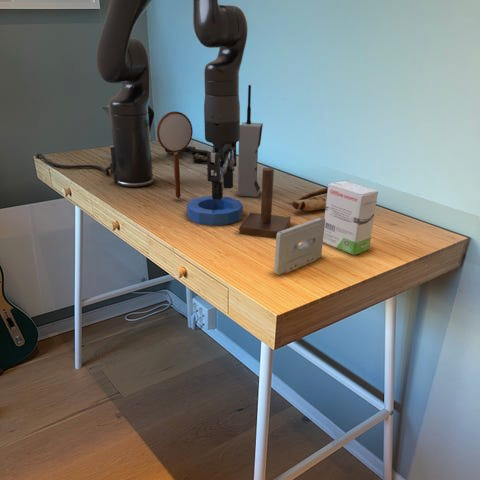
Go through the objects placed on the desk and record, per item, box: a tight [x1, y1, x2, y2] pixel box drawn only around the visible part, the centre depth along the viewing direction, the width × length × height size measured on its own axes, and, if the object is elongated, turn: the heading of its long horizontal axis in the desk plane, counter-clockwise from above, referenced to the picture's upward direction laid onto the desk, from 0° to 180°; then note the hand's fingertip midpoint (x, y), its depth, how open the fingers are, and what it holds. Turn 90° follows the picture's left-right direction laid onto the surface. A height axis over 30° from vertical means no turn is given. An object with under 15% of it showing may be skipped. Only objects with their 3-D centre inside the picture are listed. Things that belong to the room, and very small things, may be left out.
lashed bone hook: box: [292, 187, 328, 212], centre depth 116 cm, size 9×5×18 cm
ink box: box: [323, 180, 379, 256], centre depth 94 cm, size 9×5×12 cm, turn 39°
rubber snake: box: [164, 145, 210, 164], centre depth 152 cm, size 18×5×10 cm
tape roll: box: [186, 195, 244, 227], centre depth 110 cm, size 12×12×3 cm
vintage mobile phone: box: [237, 84, 264, 198], centre depth 117 cm, size 4×5×25 cm
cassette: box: [273, 216, 325, 276], centre depth 87 cm, size 12×2×8 cm, turn 133°
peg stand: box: [238, 167, 292, 239], centre depth 101 cm, size 9×9×12 cm
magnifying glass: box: [156, 110, 194, 202], centre depth 113 cm, size 9×2×20 cm, turn 121°
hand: (222, 193), depth 112 cm, fingers open, 8 cm apart
